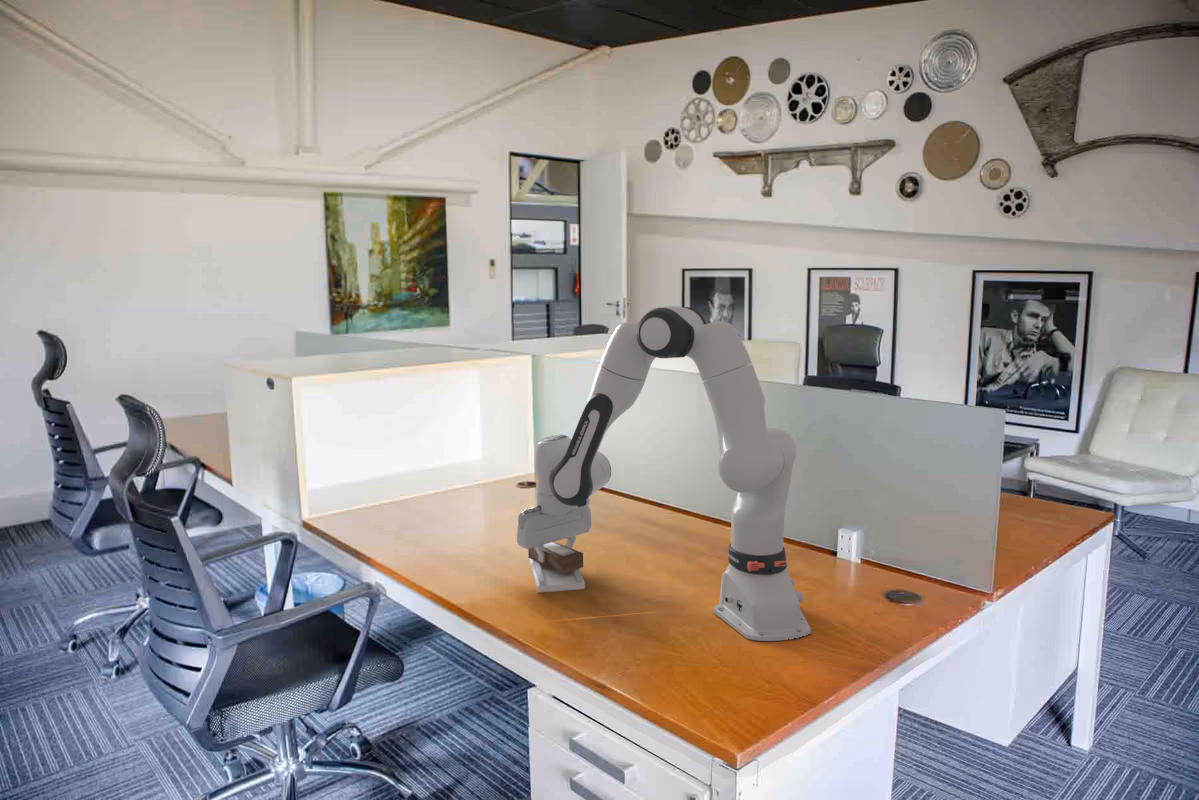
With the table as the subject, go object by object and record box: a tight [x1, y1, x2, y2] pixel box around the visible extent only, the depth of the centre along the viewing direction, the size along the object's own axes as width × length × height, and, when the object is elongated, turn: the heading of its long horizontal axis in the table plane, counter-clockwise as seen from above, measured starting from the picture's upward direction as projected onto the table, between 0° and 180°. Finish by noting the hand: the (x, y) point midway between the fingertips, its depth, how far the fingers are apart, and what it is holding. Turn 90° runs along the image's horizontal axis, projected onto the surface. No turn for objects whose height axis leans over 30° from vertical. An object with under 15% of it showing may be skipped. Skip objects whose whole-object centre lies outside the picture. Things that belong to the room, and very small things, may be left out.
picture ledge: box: [527, 557, 586, 594], centre depth 199 cm, size 22×11×3 cm, turn 10°
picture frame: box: [527, 541, 584, 573], centre depth 198 cm, size 14×6×4 cm, turn 40°
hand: (555, 557), depth 198 cm, fingers closed on picture frame, 6 cm apart
